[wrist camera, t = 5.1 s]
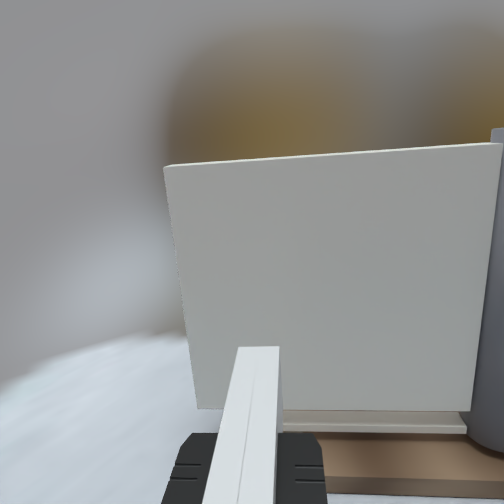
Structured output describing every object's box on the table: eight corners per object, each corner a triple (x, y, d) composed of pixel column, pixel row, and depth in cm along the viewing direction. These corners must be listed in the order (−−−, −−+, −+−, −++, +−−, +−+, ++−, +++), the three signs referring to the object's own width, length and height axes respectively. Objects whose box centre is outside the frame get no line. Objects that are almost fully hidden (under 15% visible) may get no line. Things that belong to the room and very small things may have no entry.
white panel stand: (509, 406, 19) (555, 123, 15) (547, 454, 17) (616, 121, 12) (209, 404, 21) (176, 151, 17) (196, 446, 18) (153, 156, 14)
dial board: (455, 340, 28) (456, 326, 28) (582, 501, 16) (587, 479, 16) (252, 342, 30) (251, 329, 30) (226, 489, 18) (223, 469, 17)
